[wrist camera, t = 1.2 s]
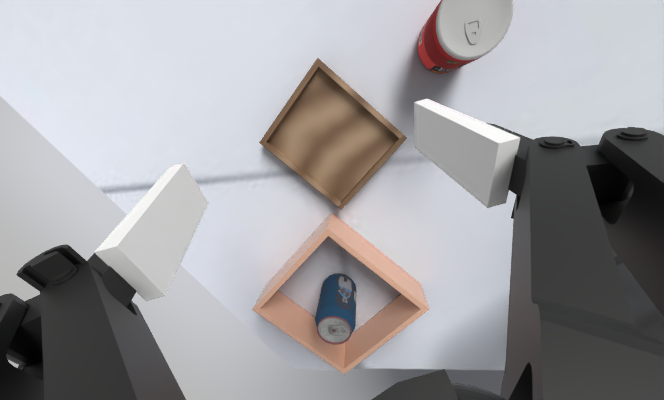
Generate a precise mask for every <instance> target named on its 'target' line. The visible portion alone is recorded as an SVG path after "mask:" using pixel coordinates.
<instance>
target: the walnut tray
mask: <svg viewBox="0 0 664 400" xmlns="http://www.w3.org/2000/svg"><path fill="white" fill-rule="evenodd" d="M406 139H407V137H405V136H404V135H403V134H402V133H401V132H400V131H399V130H398V129H397V128H395V127H394V126H393V125H392V124H391V123H390V122H389V121H388V120H386V119H385V118H384V117H383V116H382V115H381V114H380V113H379V112H378V111H376V110H375V109H374V108H373V107H372V106H371V105H370V104H369V103H368V102H366V101H365V100H364V99H363V98H362V97H361V96H360V95H359V94H357V93H356V92H355V91H354V90H353V89H352V88H351V87H350V86H349V85H347V84H346V83H345V82H344V81H343V80H342V79H341V78H340V77H338V76H337V75H336V74H335V73H334V72H333V71H332V70H331V69H330V68H328V67H327V66H326V65H325V64H324V63H323V62H322V61H321V60H320V59H318V58H317V60H316V61H315V63H314V64H313V65H312V67H311V68H310V70H309V71H308V73H307V74H306V76H305V77H304V79H303V80H302V81H301V83H300V84H299V86H298V87H297V89H296V90H295V92H294V93H293V95H292V96H291V97H290V99H289V100H288V102H287V103H286V105H285V106H284V108H283V109H282V111H281V112H280V114H279V115H278V116H277V118H276V119H275V121H274V122H273V124H272V125H271V127H270V128H269V130H268V131H267V132H266V134H265V135H264V137H263V138H262V140H261V141H260V144H262V145H263V146H264V147H265V148H267V149H268V150H269V151H270V152H271V153H273V154H274V155H275V156H276V157H278V158H279V159H280V160H281V161H283V162H284V163H285V164H286V165H287V166H289V167H290V168H291V169H292V170H294V171H295V172H296V173H297V174H298V175H300V176H301V177H302V178H303V179H305V180H306V181H307V182H308V183H310V184H311V185H312V186H313V187H314V188H316V189H317V190H318V191H319V192H321V193H322V194H323V195H324V196H326V197H327V198H328V199H329V200H330V201H332V202H333V203H334V204H335V205H337V206H338V207H339V208H340V209H342V208H343V207H344V206H345V205H346V204H347V203H348V202H349V201H350V200H351V199H352V197H353V196H354V195H355V194H356V193H357V192H358V191H359V190H360V189H361V188H362V187H363V185H364V184H365V183H366V182H367V181H368V180H369V179H370V178H371V177H372V176H373V175H374V173H375V172H376V171H377V170H378V169H379V168H380V167H381V166H382V165H383V164H384V163H385V161H386V160H387V159H388V158H389V157H390V156H391V155H392V154H393V153H394V152H395V151H396V149H397V148H398V147H399V146H400V145H401V144H402V143H403V142H404V141H405V140H406Z"/></svg>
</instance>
